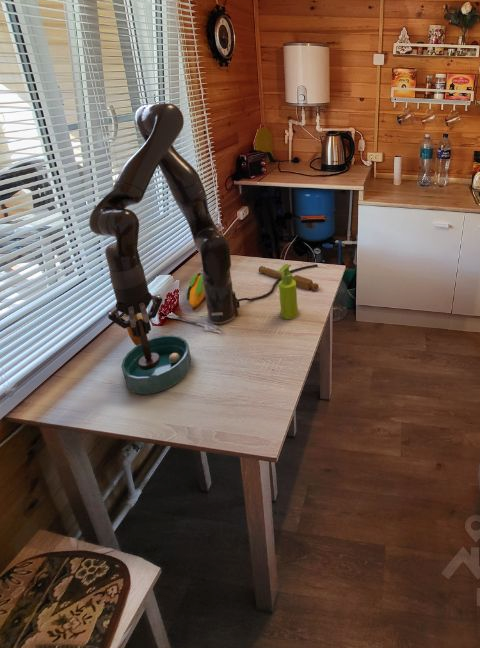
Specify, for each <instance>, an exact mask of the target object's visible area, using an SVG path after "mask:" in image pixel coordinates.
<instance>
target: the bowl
mask: <svg viewBox="0 0 480 648" xmlns="http://www.w3.org/2000/svg"><path fill="white" fill-rule="evenodd" d="M148 343H149V347H150V351H151V353H157V354H158V355H159V358H160V362H159V364H158V365H157V366H156V367H154V368H152V369H150V370H142V369H140V367H139V363H138V362H139V360H140V358H141V357H142V356H144V354H143V350H142V346H141V344H139V345H137V346H136V345H135V346H134V347H133V348H131V350H130V351H128V352H127V353H126V355H125V356H124V358H123V359H122V362H121V365H120V368H121V371H122V375H123V379H124V382H125V386H126V388H127V389H129V390H130V392H132V393H134V394H135V393H136V394H138V395H149V394H155V393H158V392H159V393H160V392H163V391H164V390H167V389H169V388H171V387H172V386H175V385H176V384H178V382H180V381H182V379H184V377H185V376H186V375H187V374H188V372H189V371H190V368H191V367H192V357H191V352H190V346H189V343H188V341H187V340H186V339H185V338H183V337H181V336H178V335H173V334H170V335H160V336H155V337H152V338H150V339H148ZM172 353H178V354H179V355H180V359H179V361H178V362H176V363H171V362H170V361H169V356H170V355H171V354H172Z"/></svg>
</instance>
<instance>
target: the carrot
mask: <svg viewBox="0 0 480 648" xmlns="http://www.w3.org/2000/svg"><path fill="white" fill-rule="evenodd" d="M123 316H124V317H127V318H128V315H126V314H124V313H123ZM139 318H140V319H142V320H143V317H142V315H138V314H136V315H135V322H136V320H137V319H139ZM127 321H129V319H127ZM126 330H127V333H128V336H129V338H130V340H131V341H132V343H133V344H134V345H135V347H136V346H137V345H139V344H141V342H140V338H139V337H138V338H137V337H136V336H135V337H134V336H133V334H132V331H131V328H130V327H127V328H126Z"/></svg>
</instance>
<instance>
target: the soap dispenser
mask: <svg viewBox="0 0 480 648" xmlns="http://www.w3.org/2000/svg"><path fill="white" fill-rule="evenodd" d="M291 266H292V265H291V264H288V263H285V264H283V266H281V267H280V268H279V269H278V270H277V271H278V272H279V273H283V274H282V279H281V280H279V281H278V290H279V304H280V316H281V317H282V318H283V319H284V320H292V319H295V318H296V317H297V316H298V313H299V311H298V310H299V309H298V296H297V295H298V294H297V293H298V292H297V286H296V281H295V280H293V279H292V276H293V274H292V273H293V272H291V273H290V272H289V271H290V267H291Z"/></svg>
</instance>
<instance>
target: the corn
mask: <svg viewBox="0 0 480 648" xmlns="http://www.w3.org/2000/svg"><path fill="white" fill-rule="evenodd" d="M204 299H205V293H204V286H203V280H202V274H201V272H198V273H196V274H195V275H193V276H192V277H191V280H190V281H189V286H188V289H187V292H186V301H187V302H188V304H189V305H190V308H197V307H198V306H199V305H200V303H201V302H202V301H203V300H204Z"/></svg>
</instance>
